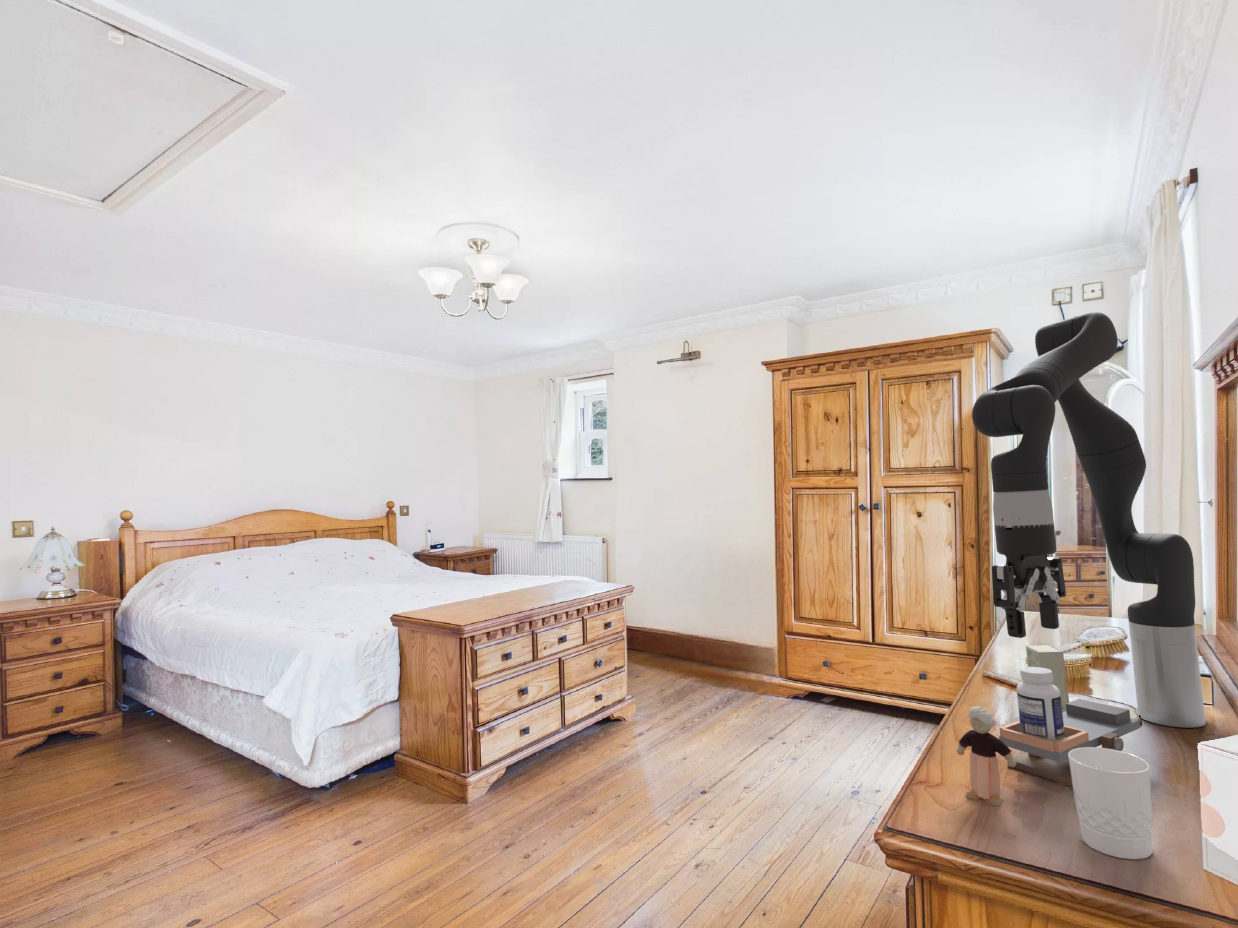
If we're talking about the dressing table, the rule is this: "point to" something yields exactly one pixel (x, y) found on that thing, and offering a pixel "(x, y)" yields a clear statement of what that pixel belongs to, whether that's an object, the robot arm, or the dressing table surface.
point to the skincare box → (1050, 667)
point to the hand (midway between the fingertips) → (1034, 632)
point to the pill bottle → (1040, 705)
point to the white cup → (1113, 801)
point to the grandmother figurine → (984, 757)
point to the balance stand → (1057, 769)
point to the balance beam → (1073, 730)
